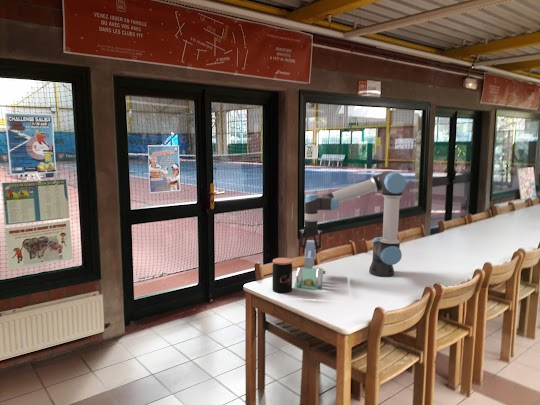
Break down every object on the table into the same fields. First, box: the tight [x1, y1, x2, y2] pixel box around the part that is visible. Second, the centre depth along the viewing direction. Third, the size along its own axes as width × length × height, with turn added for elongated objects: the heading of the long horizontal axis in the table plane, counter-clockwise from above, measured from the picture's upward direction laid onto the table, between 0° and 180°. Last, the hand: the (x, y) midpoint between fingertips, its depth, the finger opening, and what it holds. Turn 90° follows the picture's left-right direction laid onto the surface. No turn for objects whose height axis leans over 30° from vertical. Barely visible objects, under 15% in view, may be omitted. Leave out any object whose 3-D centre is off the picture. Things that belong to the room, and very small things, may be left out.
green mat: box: [293, 267, 324, 291], centre depth 248 cm, size 16×40×1 cm, turn 172°
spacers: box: [295, 266, 323, 289], centre depth 236 cm, size 14×13×8 cm
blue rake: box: [303, 239, 316, 269], centre depth 240 cm, size 5×26×10 cm, turn 172°
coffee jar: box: [272, 257, 293, 294], centre depth 226 cm, size 11×11×18 cm
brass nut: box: [304, 279, 314, 287], centre depth 236 cm, size 5×4×3 cm
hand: (310, 258), depth 247 cm, fingers closed on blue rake, 5 cm apart
